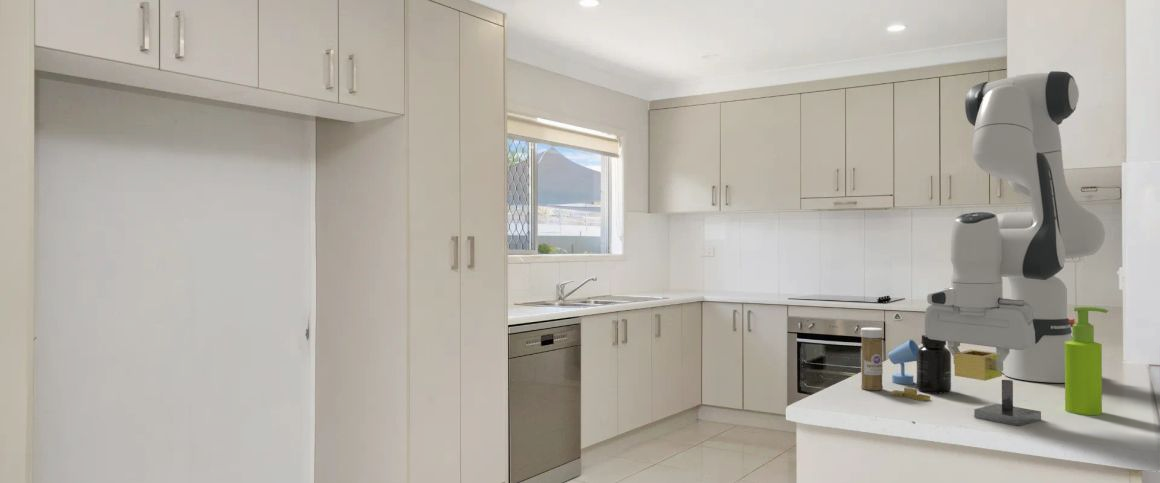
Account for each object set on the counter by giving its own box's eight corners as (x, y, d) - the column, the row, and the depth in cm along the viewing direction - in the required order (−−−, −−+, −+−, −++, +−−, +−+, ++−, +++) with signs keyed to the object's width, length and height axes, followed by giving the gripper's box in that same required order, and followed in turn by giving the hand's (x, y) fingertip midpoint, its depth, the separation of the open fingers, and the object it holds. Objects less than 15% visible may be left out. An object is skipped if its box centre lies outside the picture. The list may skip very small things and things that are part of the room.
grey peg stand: (997, 411, 147) (997, 374, 147) (1041, 419, 141) (1040, 381, 141) (974, 417, 143) (974, 379, 143) (1018, 426, 136) (1018, 386, 136)
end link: (971, 371, 153) (971, 349, 153) (1001, 376, 148) (1001, 353, 148) (954, 375, 150) (954, 353, 150) (985, 380, 145) (984, 357, 145)
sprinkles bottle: (871, 391, 166) (871, 329, 166) (856, 388, 171) (856, 327, 171) (887, 389, 168) (887, 328, 168) (872, 386, 172) (871, 326, 172)
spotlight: (924, 382, 176) (893, 379, 180) (923, 339, 175) (893, 336, 180) (916, 386, 172) (885, 382, 177) (916, 341, 172) (885, 339, 177)
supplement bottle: (955, 394, 163) (954, 338, 163) (920, 393, 164) (920, 337, 164) (946, 388, 170) (946, 333, 169) (913, 387, 171) (913, 333, 171)
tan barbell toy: (896, 393, 164) (896, 385, 164) (930, 399, 158) (930, 391, 158) (889, 394, 163) (889, 386, 163) (923, 401, 157) (923, 392, 157)
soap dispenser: (1109, 417, 142) (1109, 309, 142) (1065, 413, 146) (1064, 307, 145) (1107, 410, 147) (1107, 306, 147) (1065, 406, 151) (1064, 305, 150)
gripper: (1041, 299, 142) (1042, 373, 142) (937, 291, 159) (938, 358, 159) (1023, 302, 138) (1025, 378, 139) (919, 294, 155) (920, 362, 156)
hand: (977, 367), depth 149 cm, fingers closed on end link, 6 cm apart
